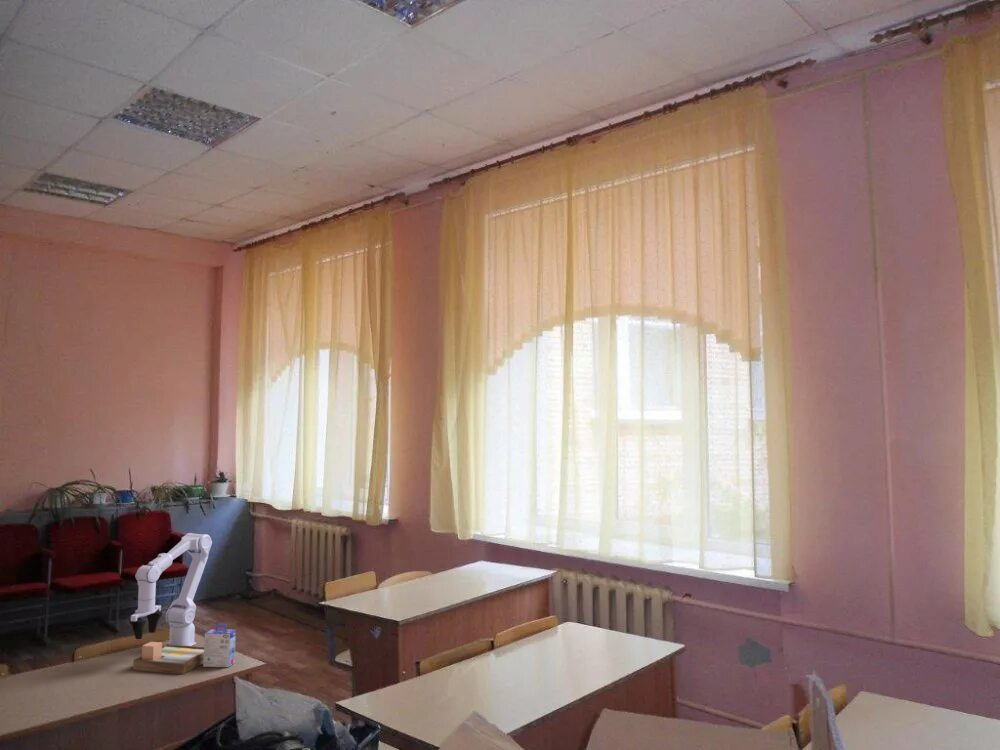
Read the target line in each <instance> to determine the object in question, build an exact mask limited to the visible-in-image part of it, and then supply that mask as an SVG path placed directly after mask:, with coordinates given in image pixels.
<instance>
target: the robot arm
mask: <svg viewBox="0 0 1000 750" xmlns="http://www.w3.org/2000/svg"><path fill="white" fill-rule="evenodd" d="M212 544H213V541H212V538H211V536H210V535H209V534H207V533H205V534H202V533H201V534H200V533H192V532H188V533H186V534H185V535H184V536H182V537H181V539H180V541H179V542H178V543H177V544H176V545H174V547H172V548H171V549H170V550H169V551H168V552H167V553H165V552H162V553H159V554H157V557H156V558H154V559H152V560H151V561H149V562H148V564H146V565H144V564H142V565H141V566H140V567H138V569H137V571H136V573H135V575H134V576H135V579H136V581H137V586H138V594H137V595H138V596H137V598H138V599H137V609H136V610H134V611H135V612H134V613H133V614H131V615H130V619H129V621H128V623H129V624H130V626H131V628H132V629H133V633H134V638H135V639H136V640H142V639H143V633H144V628H145V625H146V623H148V627H147V628H148V633H153V634H154V633H156V631H157V628H158V627H157V626H158V623H159V621H160V619H161V617H162V615H163V611H161V610H162V605H161V604H156V591H157V587H156V586H157V581H158V580H159V578H160V576H161V575H162V573H163V572H165V570H166V569H168V568H169V567H171V566H172V564H173V560H175V559H177V558H178V557H180V556H181V555H183V554H184V553H186V552H187V553H188V554H189V555H190V556H191V558H192V560H191V563H190V565H189V568H188V571H187V573H186V576H185V579H184V582H183V584H182V587H181V591H180V593H179V596H178V597H177V598H176V599H174V600H173V601H172V602H171V603H170V607H168V609H167V611H166V613H165V621H167V622H168V626H169V642H168V643H169V644H172V645H185V646H195V645H197V642H195V635H196V628H195V625H194V623H193V622H194V619H195V616H196V610H197V605H196V604H195V602H194V598H195V595H196V592H197V591H198V590H197V589H198V586H199V583H200V582H201V579H202V575H203V573H204V570H205V567H206V565H207V561H208V559H209V553H210V551H211V547H212ZM145 617H146V618H147V620H146V619H143V618H145Z"/></svg>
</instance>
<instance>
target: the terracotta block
mask: <svg viewBox="0 0 1000 750" xmlns="http://www.w3.org/2000/svg"><path fill="white" fill-rule="evenodd" d="M162 646H163V642H160V641H159V642H158V641H149V642H147V643H145V644H143V645H142V646H141V656H142V660H154V661H157V660H159V659H161V655H162Z"/></svg>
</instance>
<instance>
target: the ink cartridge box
mask: <svg viewBox="0 0 1000 750" xmlns="http://www.w3.org/2000/svg"><path fill="white" fill-rule="evenodd" d="M220 626H223V627H220ZM227 627H228V624H227V623H217V625H216V628H215V629H209V630H208V631H206V632H205V633H204V642H203V647H204V661H203V663H202V664H203V665H202V667H204V668H213V667H214V668H230V667H231V666H232V665H234V664H235V663H236V641H237V640H236V639H237V638H236V633H237V630H236V629H227Z"/></svg>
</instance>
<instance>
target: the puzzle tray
mask: <svg viewBox="0 0 1000 750" xmlns="http://www.w3.org/2000/svg"><path fill="white" fill-rule="evenodd" d="M203 661H204V646H199V645H198V646H197V645H196V646H195V645H193V646H185V645H172V644H168V643H166V644H162V655H161V659H159V660H157V661H154V660H142V655H140V656H139V657H137V658H133V665H132V670H133V671H143V672H144V671H145V672H151V673H153V672H154V673H166V674H177V675H185V674H187V673H188V672H190V671H191V670H193V669H195V668H197V667H198V666H200V665H201V664H203Z"/></svg>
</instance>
